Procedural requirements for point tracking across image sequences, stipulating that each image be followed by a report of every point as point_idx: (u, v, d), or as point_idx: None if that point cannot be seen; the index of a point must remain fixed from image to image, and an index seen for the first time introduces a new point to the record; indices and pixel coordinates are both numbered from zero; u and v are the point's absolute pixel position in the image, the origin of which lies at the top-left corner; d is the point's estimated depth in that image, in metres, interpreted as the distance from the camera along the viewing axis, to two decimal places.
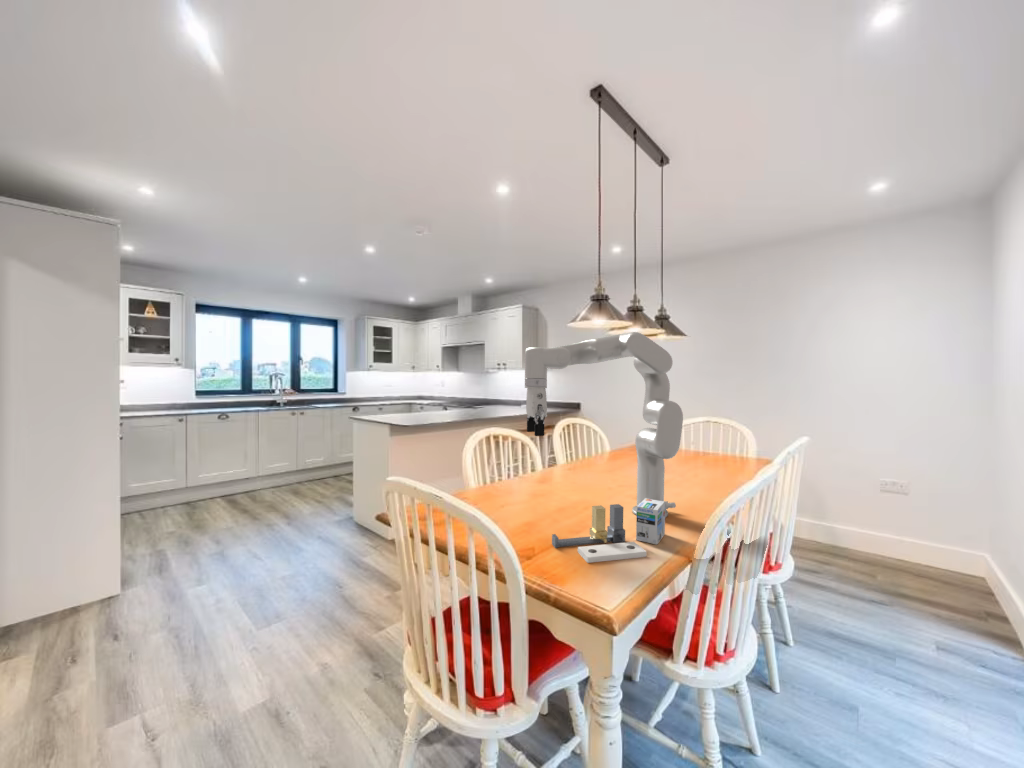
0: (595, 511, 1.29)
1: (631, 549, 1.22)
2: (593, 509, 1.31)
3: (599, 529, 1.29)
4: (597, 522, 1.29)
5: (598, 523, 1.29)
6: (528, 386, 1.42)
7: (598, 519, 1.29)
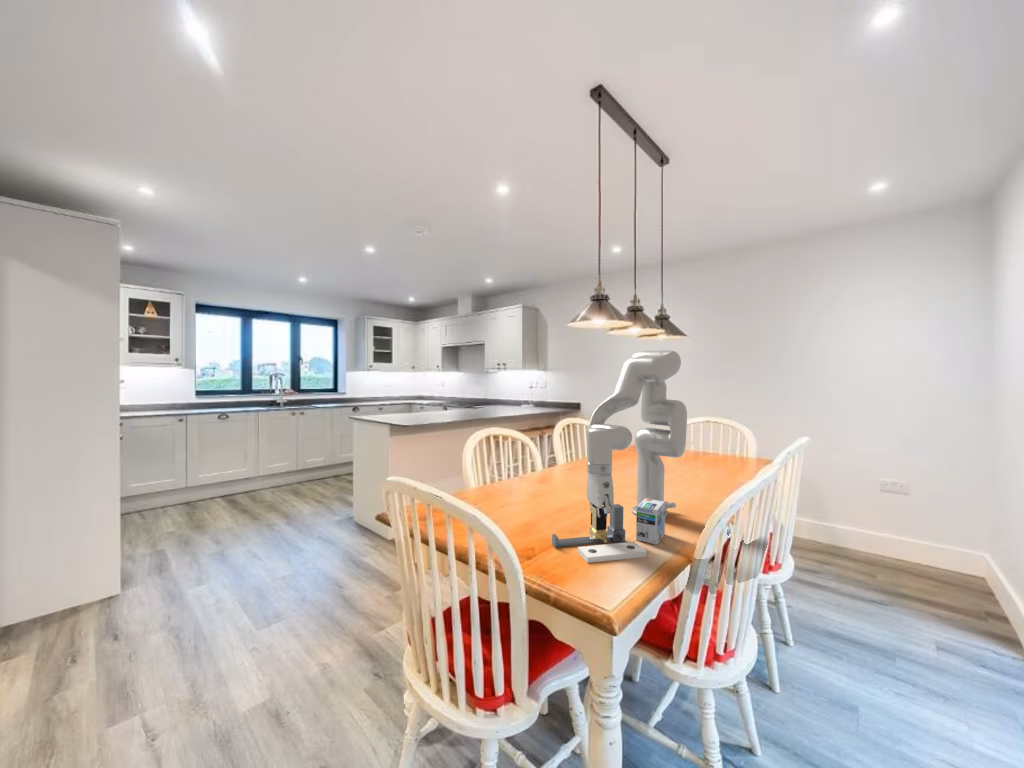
0: (595, 511, 1.29)
1: (631, 549, 1.22)
2: (593, 509, 1.31)
3: None
4: None
5: None
6: (592, 473, 1.27)
7: None
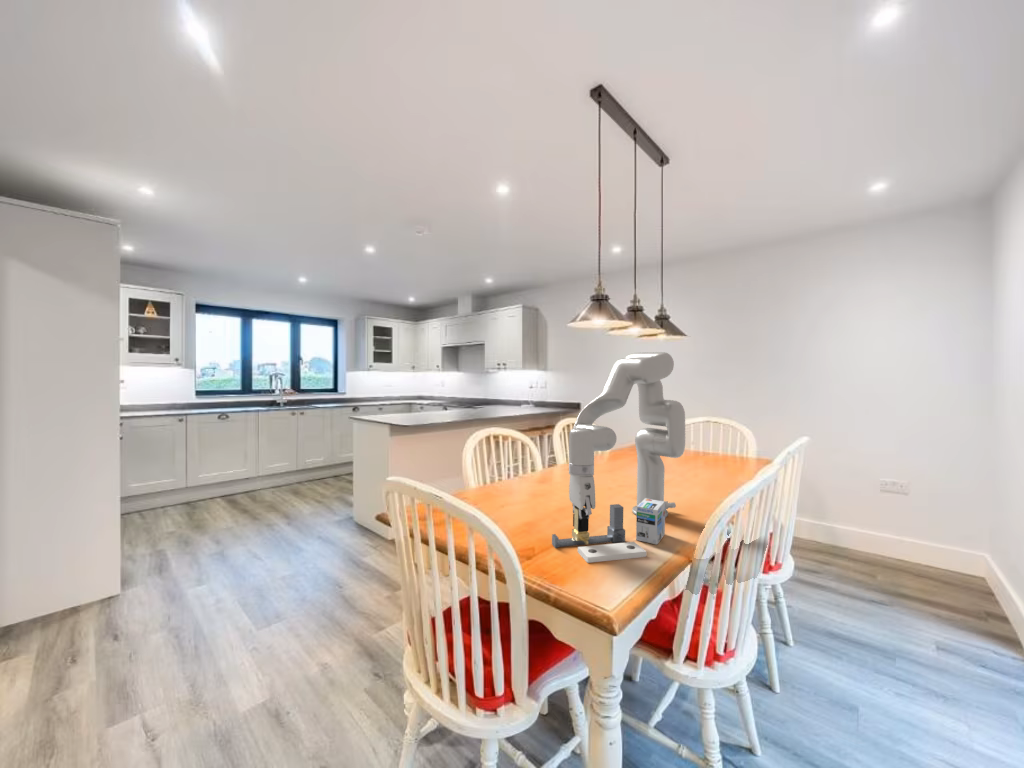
0: (577, 512, 1.28)
1: (631, 549, 1.22)
2: (575, 510, 1.29)
3: None
4: None
5: None
6: (574, 474, 1.26)
7: None
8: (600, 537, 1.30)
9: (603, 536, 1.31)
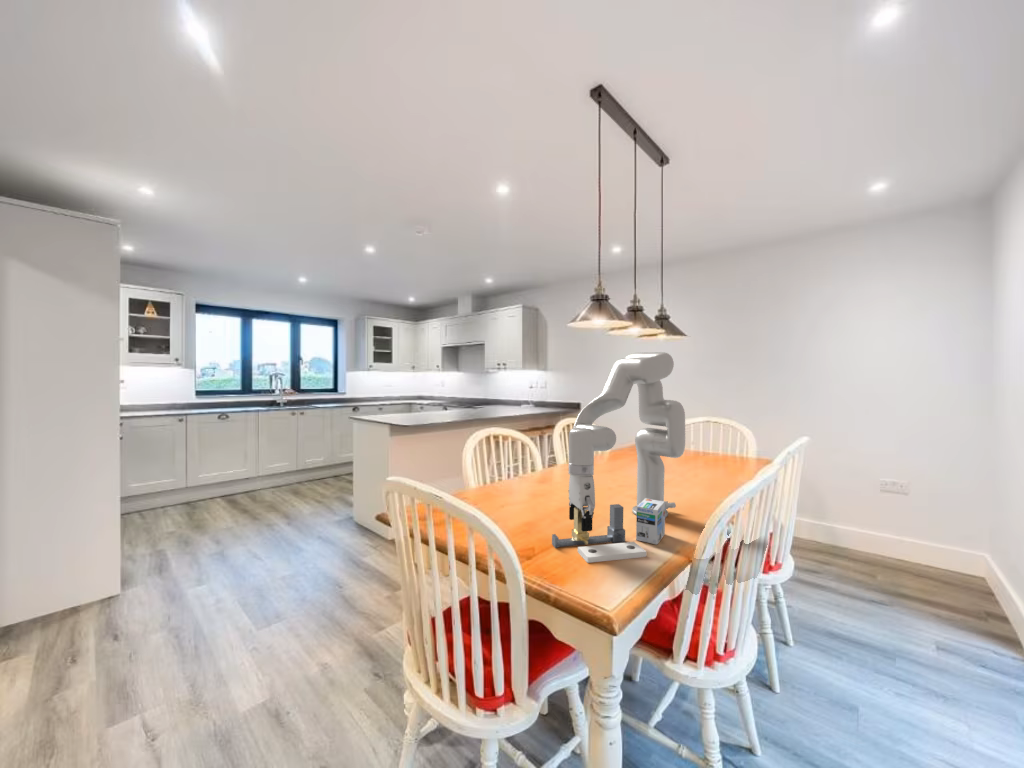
0: (576, 512, 1.28)
1: (631, 549, 1.22)
2: (575, 510, 1.29)
3: (580, 531, 1.28)
4: (579, 524, 1.27)
5: (580, 525, 1.28)
6: (573, 474, 1.26)
7: (580, 521, 1.27)
8: (600, 537, 1.30)
9: (603, 536, 1.31)
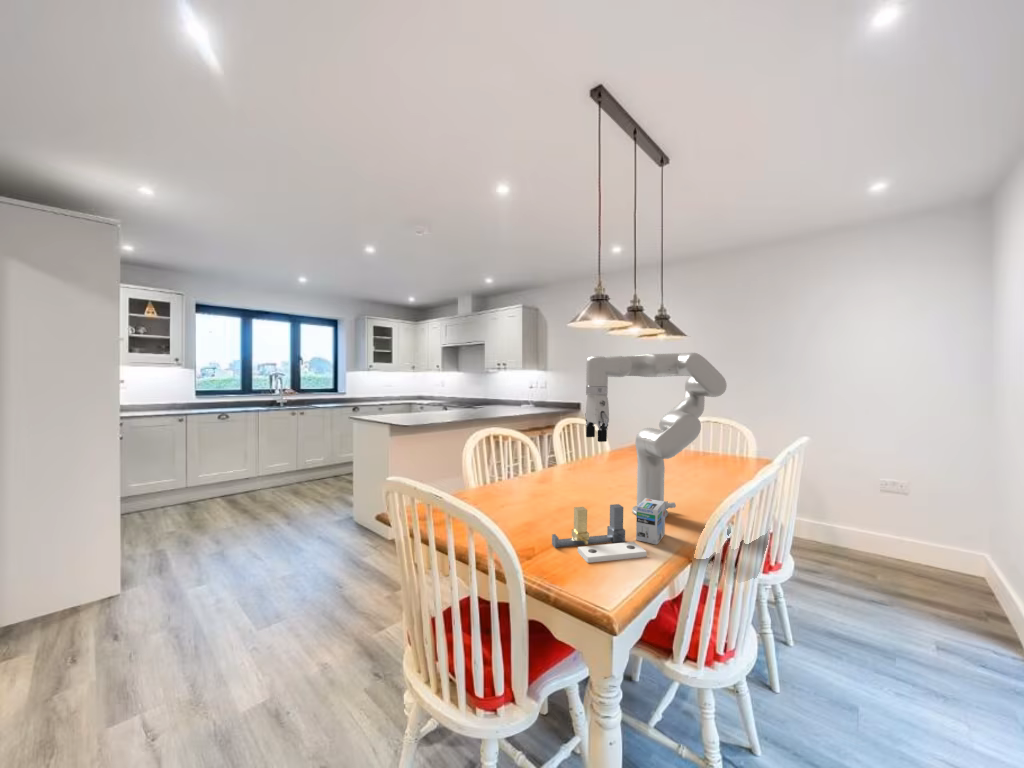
0: (576, 512, 1.28)
1: (631, 549, 1.22)
2: (575, 510, 1.29)
3: (580, 531, 1.28)
4: (579, 524, 1.27)
5: (580, 525, 1.28)
6: (590, 394, 1.48)
7: (580, 521, 1.27)
8: (600, 537, 1.30)
9: (603, 536, 1.31)
